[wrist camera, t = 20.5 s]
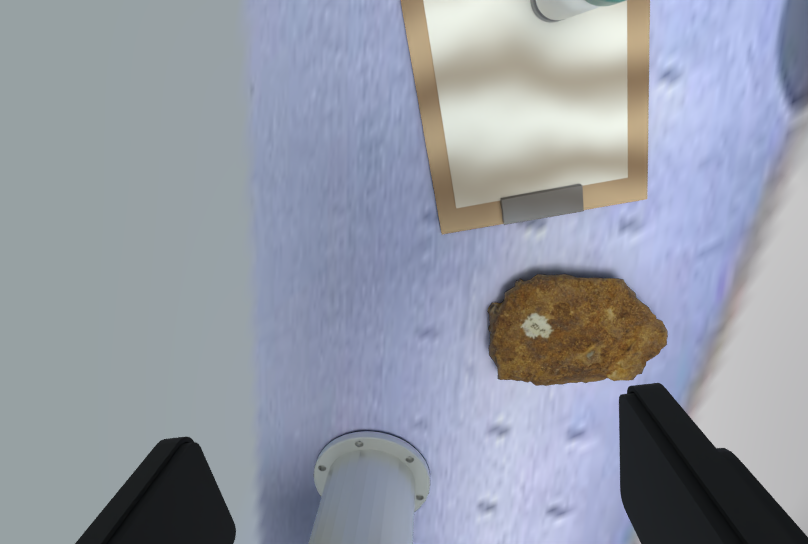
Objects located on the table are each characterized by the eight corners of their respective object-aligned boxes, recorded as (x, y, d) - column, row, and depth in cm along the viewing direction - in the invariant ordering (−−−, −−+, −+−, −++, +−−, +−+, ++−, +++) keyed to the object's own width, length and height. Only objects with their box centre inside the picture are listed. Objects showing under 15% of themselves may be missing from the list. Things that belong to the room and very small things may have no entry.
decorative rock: (665, 258, 36) (485, 265, 38) (691, 275, 32) (489, 281, 34) (650, 374, 40) (486, 375, 41) (671, 402, 36) (490, 402, 38)
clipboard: (643, 197, 33) (652, 201, 32) (441, 232, 35) (441, 237, 34) (646, -122, 26) (658, -134, 25) (391, -53, 28) (389, -61, 27)
